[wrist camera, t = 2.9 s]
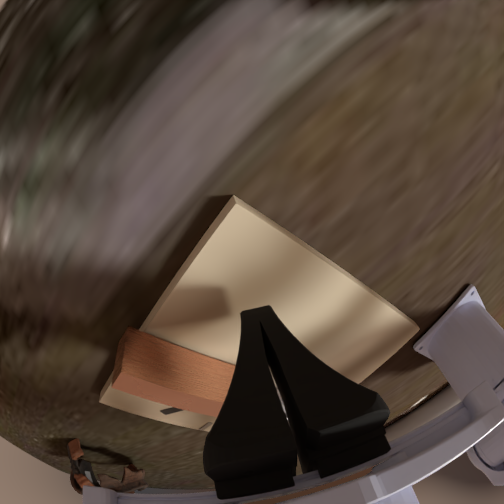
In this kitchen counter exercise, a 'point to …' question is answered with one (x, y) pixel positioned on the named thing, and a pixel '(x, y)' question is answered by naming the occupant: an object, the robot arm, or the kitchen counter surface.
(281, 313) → the board
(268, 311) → the robot arm
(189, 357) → the copper brown lever handle
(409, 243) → the kitchen counter surface
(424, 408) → the tube
